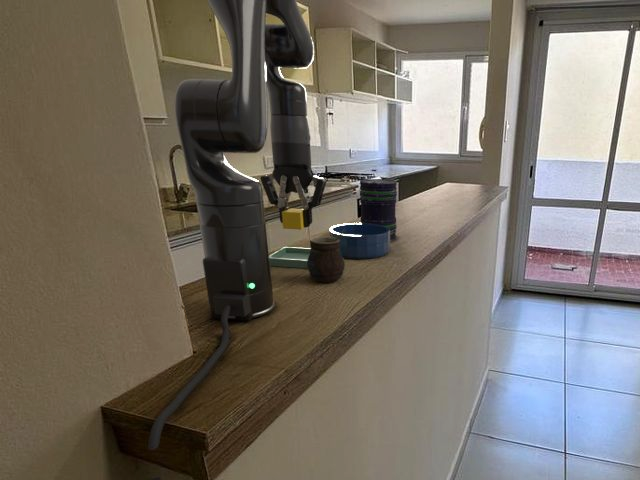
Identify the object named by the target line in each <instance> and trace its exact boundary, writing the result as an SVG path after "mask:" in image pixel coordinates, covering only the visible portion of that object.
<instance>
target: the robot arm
mask: <svg viewBox="0 0 640 480" xmlns="http://www.w3.org/2000/svg"><path fill="white" fill-rule="evenodd" d="M205 1H206V3H207V4H208V6H209V8H210V9H211V11H212V13H213V15H214V16H215V19H217V22H218V24H219V25H220V27H221V28H222V31H223V32H224V35H225V37H226V40H227V41H228V44H229V49H230V55H231V77H230V79H207V78H189V79H185V80H182V81H181V82H180V83H179V84H178V86H177V88H176V90H175V94H174V115H175V116H174V117H175V122H176V128H177V133H178V137H179V141H180V146H181V150H182V154H183V159H184V160H183V161H184V165H185V170H186V175H187V179H188V181H189V184H190V186H191V188H192V190H193V193H194V197H195V204H196V210H197V216H198V221H199V230H200V235H201V236H200V237H201V242H202V248H203V255H204V258H202V267H203V273H204V280H205V285H206V292H207V298H208V305H209V311H210V316H211V319H219V320H220V325H221V328H222V335H221V336H222V337H221V341H220V345H219V347H218V348H217V349H216V350H215V351H214V352H213V353H212V355H211V356H210V358H209V359H208V360H207V361H206V363H205V364H204V365H203V367H202V368H201V369H200V370H199V371H198V372H197V373H196V374H195V375H194V377H193V378H191V380H189V382H187V384H186V385H184V387H183V388H182V389H181V390H180V391H179V392H178V394H177V395H176V396H175V397H174V398H173V400H172V401H171V402H170V403H169V404H168V405H167V407H165V408H164V409H163V410H162V411H161V412H160V413H159V414H158V416H157V417H156V418H155V420H154V422H153V424H152V426H151V429H150V433H149V436H148V437H149V438H148V443H147V450H148V451H154V450H156V449H157V448H159V446H160V442H161V436H162V433H163V428H164V427H165V424H166V422H167V421H168V419H170V417H171V416H173V415H174V413H175V412H176V411H177V410H178V409H179V407H180V406H181V405H182V404H183V402H184V401H185V400H186V399H187V397H188V396H189V395H190V394H191V393H192V392H193V391H194V389H196V387H198V386H199V384H200V383H201V382H202V381H203V380H204V379H205V377H207V375H208V374H209V373H210V371H211V370H212V368H214V366H215V365H216V364H217V361H218V360H219V359H220V358H221V357H222V355H223V354H224V353H225V351H226V350H227V348H228V345H229V342H230V333H231V332H230V326H229V320H230V321H231V320H232V321H241V322H242V321H243V322H250V321H251V320H253V319H255V318H259V317H262V316H265V315H267V314H269V313H271V312H272V311H274V309H275V307H276V303H275V300H274V292H273V282H272V273H271V272H272V271H271V266H270V261H269V256H270V253H269V252H270V251H269V243H268V233H267V221H266V213H265V212H266V211H265V203H264V192H265V195H266V197H267V200H268V202H269V203H270V205H274V206H276V207H278V212H279V221H280V223H281V224H283V220H282V212H283V211H286V210H288V209H290V207H289V200H290V197H291V195H292V193H295V194H297V196H298V199H300V203H301V205H302V209H303V210H302V212H303V224H304V227H305V228H309V227H310V226H311V224H313V208H316V207H318V206H320V205H321V203H322V200H323V195H324V193H325V188H326V185H327V182H328V181H327V179H326V178H325V177H319V176H317V175H315V174H314V171H313V169H312V151H311V131H310V124H309V119H308V102H307V100H308V99H307V91H306V90H307V89H306V87H305V86H304V85H303V84H301V83H299V82H295V81H292V80H288V79H285V78H284V76H283V75H282V73H281V70H280V68H281V69H282V68H283V69H287V68H288V69H307V68H309V66H310V65H311V64H312V63H313V61H314V58H315V57H314V56H315V46H314V42H313V39H312V36H311V32H310V31H309V28H308V26H307V24H306V22H305V20H304V18H303V15H302V12H301V10H300V7H299V5H298V2H297V0H205ZM267 15H270V16H273V17H276V18H277V19H279V20H280V21H281V22H282V23H266V20H267V19H266V17H267ZM268 100H269V105H268ZM268 107H269V112H270V123H269V113H268ZM269 124H270V141H271V153H272V163H273V170H272V173H270V174H267V175H261V176H260V177H259V180H260V181H259V180H257V179H256V178H253V177H250V176H248V175H245V174H244V173H241V172H240V171H238V170H237V169H235V168H233V166H232V165H230V163H228V161H227V159H226V157H225V153H226V154H257V153H259V152H260V151H261V150H262V149H263V148H264V146H265V143H266V140H267V136H268V127H269ZM260 182H261V183H260ZM275 183H277V185H278V186H279V190H278V192H277V190H276V187H275ZM311 183H313V184H312V185H313V188H314V191H313V195H312V198H311V193H310V189H309V186H310V185H311ZM263 190H264V192H263ZM148 480H162V477H161V476H158V477H153V478H149V479H148Z"/></svg>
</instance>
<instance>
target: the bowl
mask: <svg viewBox="0 0 640 480" xmlns="http://www.w3.org/2000/svg"><path fill="white" fill-rule="evenodd" d="M344 229H346V230H345V232H344V233H343V234H342V235H341V237H340V238H339V240H340V247H339V249H340V252H341V254H342V256H343V258H345V259H351V260H352V259H353V260H369V259H376V258H381V257H383V256H385V255H387V253H389V252H390V251H391V241H390V229H389V228H387V227H385V226H381V225H376V224H365V223H361V222H359V223H357V222H356V223H355V222H354V223H343V224H337V225H333V226H331V227H330V228H329V237H334V238H336V237H338V235H339V234H340V233H341V232H342V231H343V230H344Z"/></svg>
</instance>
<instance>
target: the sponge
mask: <svg viewBox="0 0 640 480" xmlns="http://www.w3.org/2000/svg"><path fill="white" fill-rule="evenodd" d="M303 209H304V208H292V207H291V208H289V209H288V210H286V211H283V212H282V220H283V223H282V229H286V230H301V231H302V230H303V229H305V228H306V227H304V224H303V212H302V210H303Z"/></svg>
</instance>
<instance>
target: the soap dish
mask: <svg viewBox="0 0 640 480" xmlns="http://www.w3.org/2000/svg"><path fill="white" fill-rule="evenodd" d="M310 251H311V247H295V246H283V247H282V248H280V249H278V250H276V251H275V252H273V253H271V254H269V261H270V267H280V268H281V267H282V268H296V269H297V268H298V269H308V267H307V261H308V257H309V254H310Z"/></svg>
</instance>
